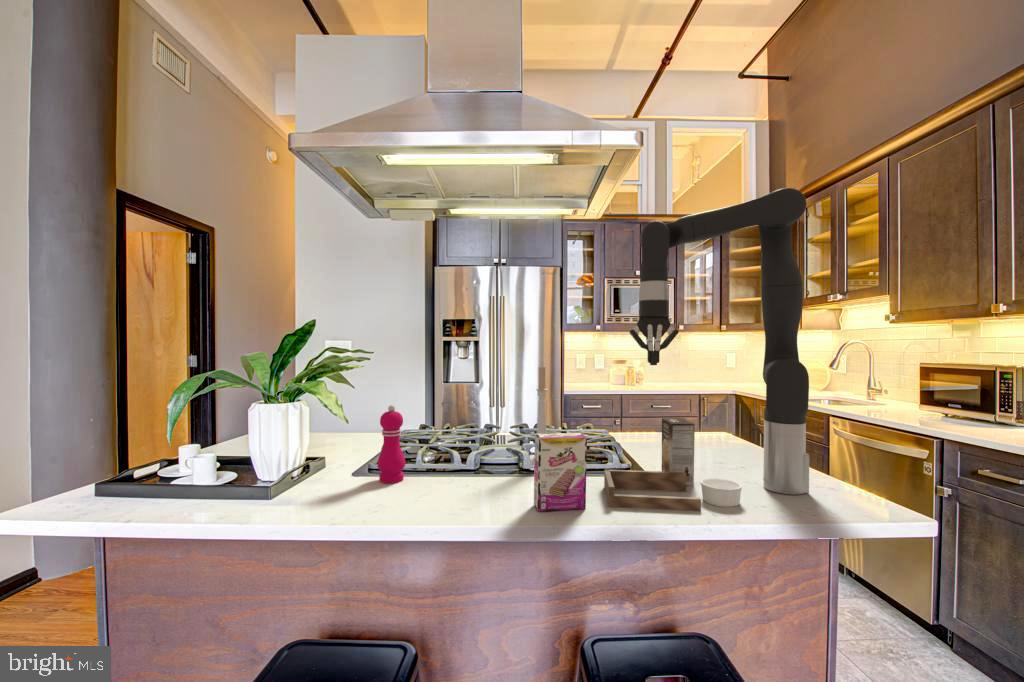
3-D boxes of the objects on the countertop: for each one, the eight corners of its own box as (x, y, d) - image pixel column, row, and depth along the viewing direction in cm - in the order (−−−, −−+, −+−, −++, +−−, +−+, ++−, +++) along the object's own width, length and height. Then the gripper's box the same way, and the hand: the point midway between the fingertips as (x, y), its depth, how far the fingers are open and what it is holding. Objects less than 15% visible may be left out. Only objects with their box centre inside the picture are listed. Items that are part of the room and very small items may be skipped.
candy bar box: (538, 513, 105) (538, 437, 105) (533, 505, 110) (533, 433, 110) (587, 510, 107) (587, 436, 107) (580, 502, 112) (580, 431, 112)
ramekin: (692, 497, 116) (692, 479, 116) (724, 494, 118) (724, 476, 118) (717, 510, 107) (717, 490, 107) (750, 506, 110) (750, 487, 109)
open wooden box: (685, 490, 121) (685, 472, 121) (700, 510, 107) (701, 490, 106) (604, 486, 123) (604, 469, 123) (608, 506, 109) (609, 486, 109)
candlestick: (524, 459, 150) (524, 363, 150) (565, 461, 148) (565, 364, 148) (516, 470, 138) (516, 366, 138) (561, 473, 135) (561, 366, 135)
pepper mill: (411, 478, 130) (411, 404, 129) (391, 485, 124) (391, 408, 123) (392, 474, 133) (392, 402, 133) (371, 481, 127) (371, 405, 127)
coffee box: (660, 474, 134) (660, 417, 134) (683, 475, 134) (683, 417, 134) (670, 485, 125) (671, 423, 125) (695, 485, 125) (695, 423, 125)
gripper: (676, 300, 130) (676, 364, 130) (626, 300, 131) (626, 364, 132) (683, 298, 122) (682, 366, 123) (629, 298, 124) (629, 365, 124)
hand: (653, 365), depth 127 cm, fingers closed
